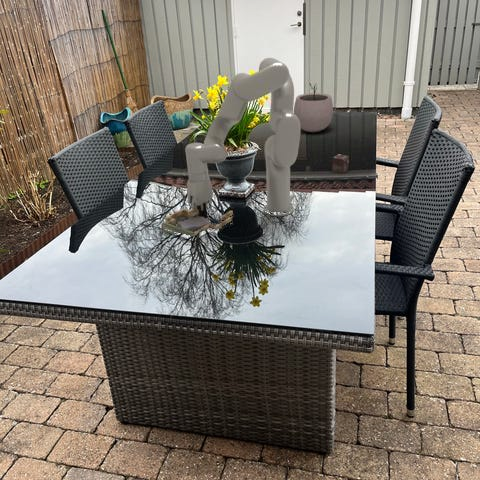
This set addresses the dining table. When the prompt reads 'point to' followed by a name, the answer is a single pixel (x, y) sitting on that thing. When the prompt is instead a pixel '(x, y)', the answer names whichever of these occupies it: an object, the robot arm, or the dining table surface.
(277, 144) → the robot arm
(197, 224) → the stone block
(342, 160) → the box
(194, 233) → the box
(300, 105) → the plant pot
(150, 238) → the dining table surface
